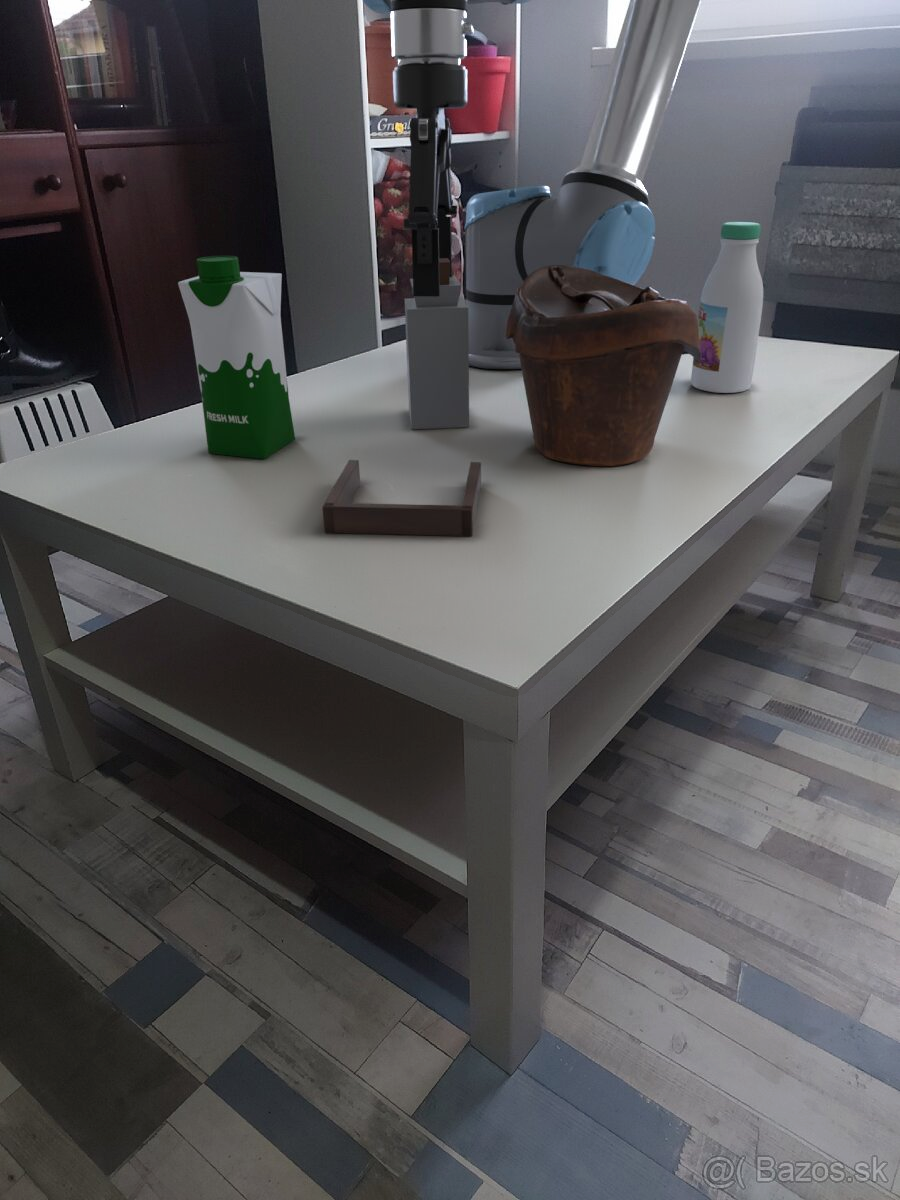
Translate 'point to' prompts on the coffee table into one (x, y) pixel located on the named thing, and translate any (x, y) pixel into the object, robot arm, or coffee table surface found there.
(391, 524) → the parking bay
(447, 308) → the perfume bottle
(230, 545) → the coffee table surface
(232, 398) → the milk carton
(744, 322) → the milk bottle
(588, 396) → the case
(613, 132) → the robot arm
